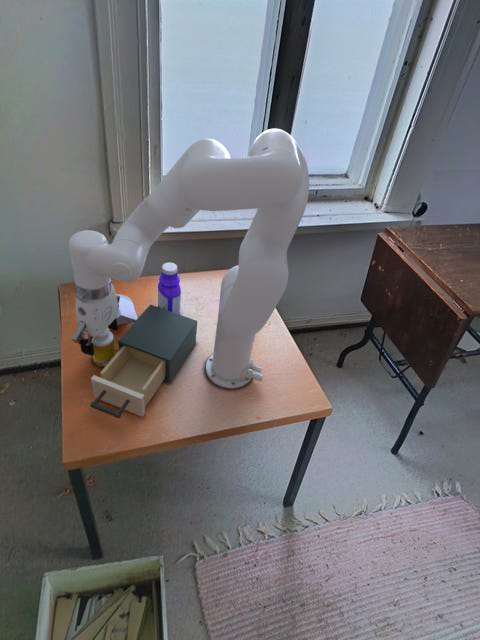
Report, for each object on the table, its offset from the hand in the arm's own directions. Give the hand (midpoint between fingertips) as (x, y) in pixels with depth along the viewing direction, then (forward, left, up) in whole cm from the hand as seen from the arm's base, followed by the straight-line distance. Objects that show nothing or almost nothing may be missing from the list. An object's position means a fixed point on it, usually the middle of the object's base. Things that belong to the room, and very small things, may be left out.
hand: (100, 340), depth 100 cm
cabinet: (-12, -8, -7) cm, 16 cm away
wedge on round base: (+5, -15, -7) cm, 17 cm away
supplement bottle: (0, 0, -7) cm, 7 cm away
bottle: (-7, -23, -7) cm, 25 cm away
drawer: (-12, +7, -6) cm, 15 cm away
